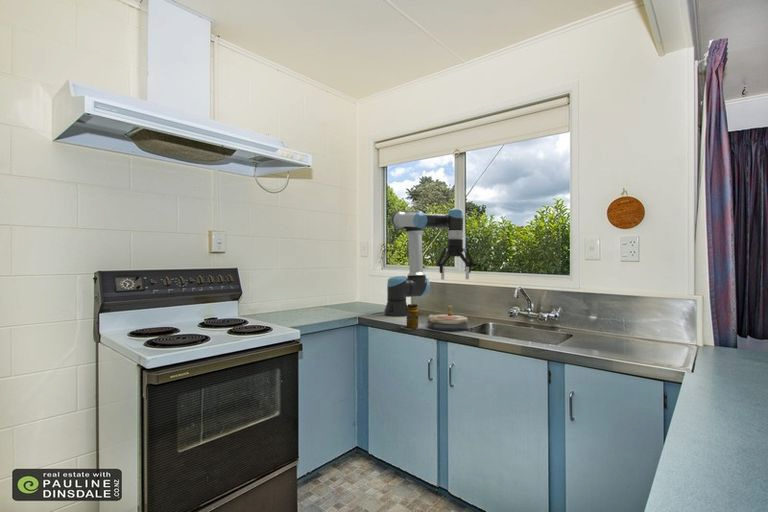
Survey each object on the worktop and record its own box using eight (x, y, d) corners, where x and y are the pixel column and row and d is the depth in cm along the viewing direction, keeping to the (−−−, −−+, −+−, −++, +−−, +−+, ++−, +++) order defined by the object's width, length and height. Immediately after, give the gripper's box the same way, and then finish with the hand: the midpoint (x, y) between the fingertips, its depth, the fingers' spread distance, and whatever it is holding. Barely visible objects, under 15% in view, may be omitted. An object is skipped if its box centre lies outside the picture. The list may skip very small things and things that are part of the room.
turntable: (423, 318, 213) (423, 306, 212) (457, 316, 217) (457, 305, 217) (436, 325, 193) (436, 311, 193) (474, 323, 198) (474, 310, 198)
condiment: (421, 328, 202) (421, 304, 202) (408, 330, 197) (408, 306, 197) (413, 325, 208) (413, 303, 208) (399, 327, 203) (400, 304, 203)
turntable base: (421, 323, 213) (422, 314, 213) (458, 322, 218) (458, 313, 218) (435, 332, 193) (436, 321, 192) (475, 330, 197) (475, 320, 197)
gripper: (435, 238, 200) (434, 280, 200) (480, 238, 205) (480, 279, 205) (430, 238, 207) (430, 278, 208) (474, 239, 212) (474, 278, 213)
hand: (455, 279), depth 207 cm, fingers open, 13 cm apart
